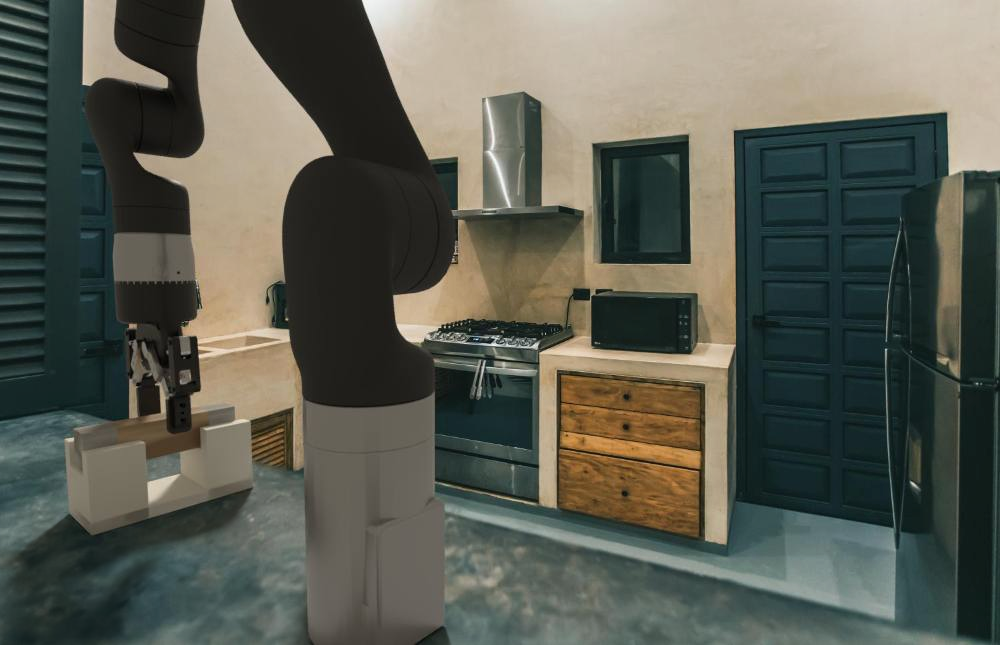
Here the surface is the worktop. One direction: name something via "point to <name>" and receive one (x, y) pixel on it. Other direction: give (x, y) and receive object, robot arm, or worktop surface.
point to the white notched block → (130, 498)
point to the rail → (151, 432)
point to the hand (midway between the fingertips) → (163, 425)
